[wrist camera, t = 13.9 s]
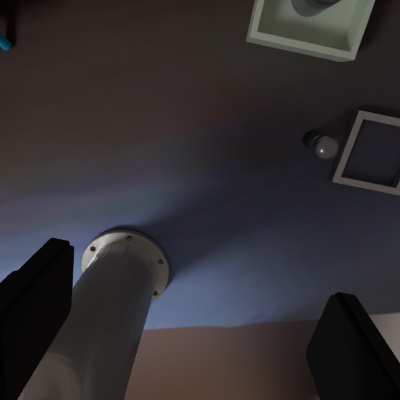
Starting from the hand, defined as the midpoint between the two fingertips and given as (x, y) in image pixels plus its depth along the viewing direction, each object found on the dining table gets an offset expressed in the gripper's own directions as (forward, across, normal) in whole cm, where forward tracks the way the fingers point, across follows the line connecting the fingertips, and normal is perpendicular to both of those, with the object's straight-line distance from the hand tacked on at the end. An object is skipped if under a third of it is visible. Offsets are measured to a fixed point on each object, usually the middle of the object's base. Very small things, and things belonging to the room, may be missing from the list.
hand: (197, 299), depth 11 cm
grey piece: (+28, -17, -3) cm, 33 cm away
